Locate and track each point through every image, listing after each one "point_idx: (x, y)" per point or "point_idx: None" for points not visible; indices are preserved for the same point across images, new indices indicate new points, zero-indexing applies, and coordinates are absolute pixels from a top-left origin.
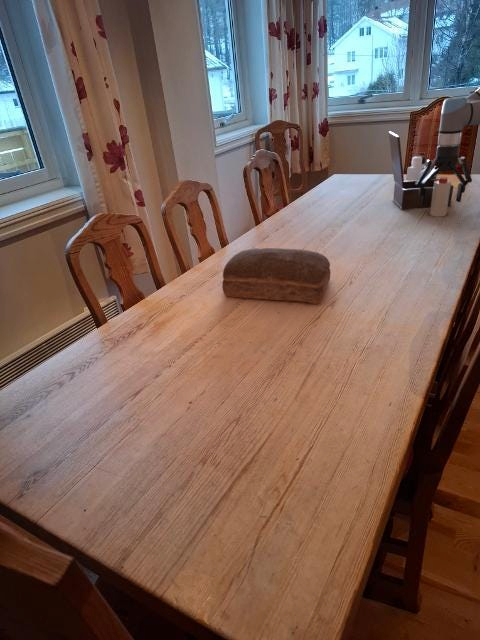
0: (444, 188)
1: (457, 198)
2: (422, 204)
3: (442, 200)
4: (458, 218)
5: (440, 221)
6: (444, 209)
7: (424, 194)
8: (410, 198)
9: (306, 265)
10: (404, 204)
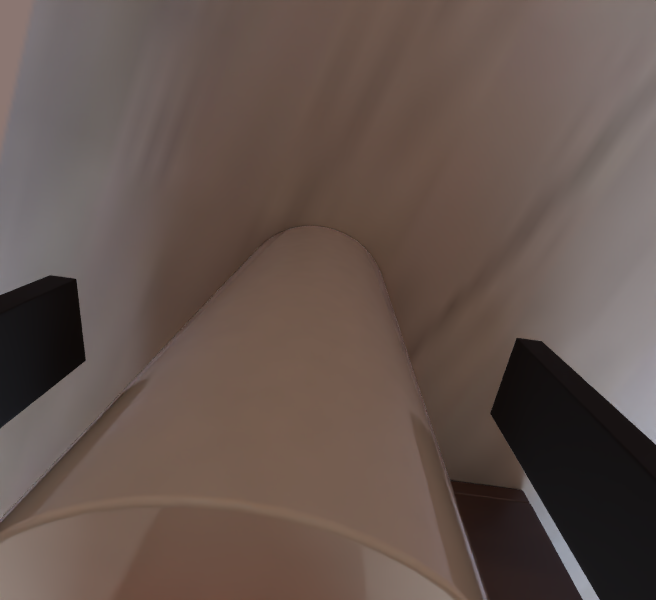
0: (280, 383)
1: (56, 343)
2: (541, 345)
3: (313, 273)
4: (182, 103)
5: (398, 66)
6: (279, 241)
7: (629, 436)
8: (496, 574)
9: None
10: (523, 526)
